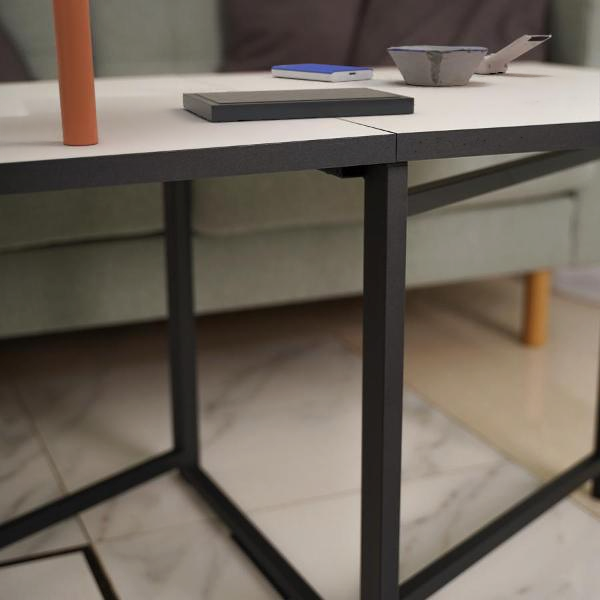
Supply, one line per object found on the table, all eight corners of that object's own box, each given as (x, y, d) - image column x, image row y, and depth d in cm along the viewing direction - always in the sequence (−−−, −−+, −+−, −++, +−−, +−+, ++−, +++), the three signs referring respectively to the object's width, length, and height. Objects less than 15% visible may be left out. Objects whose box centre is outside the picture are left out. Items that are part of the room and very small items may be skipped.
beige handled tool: (528, 34, 127) (403, 29, 146) (524, 78, 129) (401, 67, 148) (555, 34, 131) (430, 29, 149) (551, 76, 133) (428, 66, 151)
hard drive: (271, 65, 131) (331, 70, 122) (312, 63, 136) (373, 67, 127) (271, 76, 131) (331, 82, 122) (312, 74, 136) (373, 79, 128)
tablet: (211, 122, 81) (211, 104, 81) (183, 108, 92) (182, 92, 92) (414, 113, 88) (414, 97, 87) (364, 101, 98) (365, 86, 98)
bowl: (504, 82, 121) (507, 45, 119) (451, 89, 112) (453, 49, 110) (423, 78, 129) (425, 42, 127) (367, 84, 120) (368, 46, 118)
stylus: (65, 146, 68) (51, -25, 64) (61, 141, 70) (48, -24, 66) (100, 144, 69) (88, -25, 65) (96, 140, 71) (84, -24, 67)
